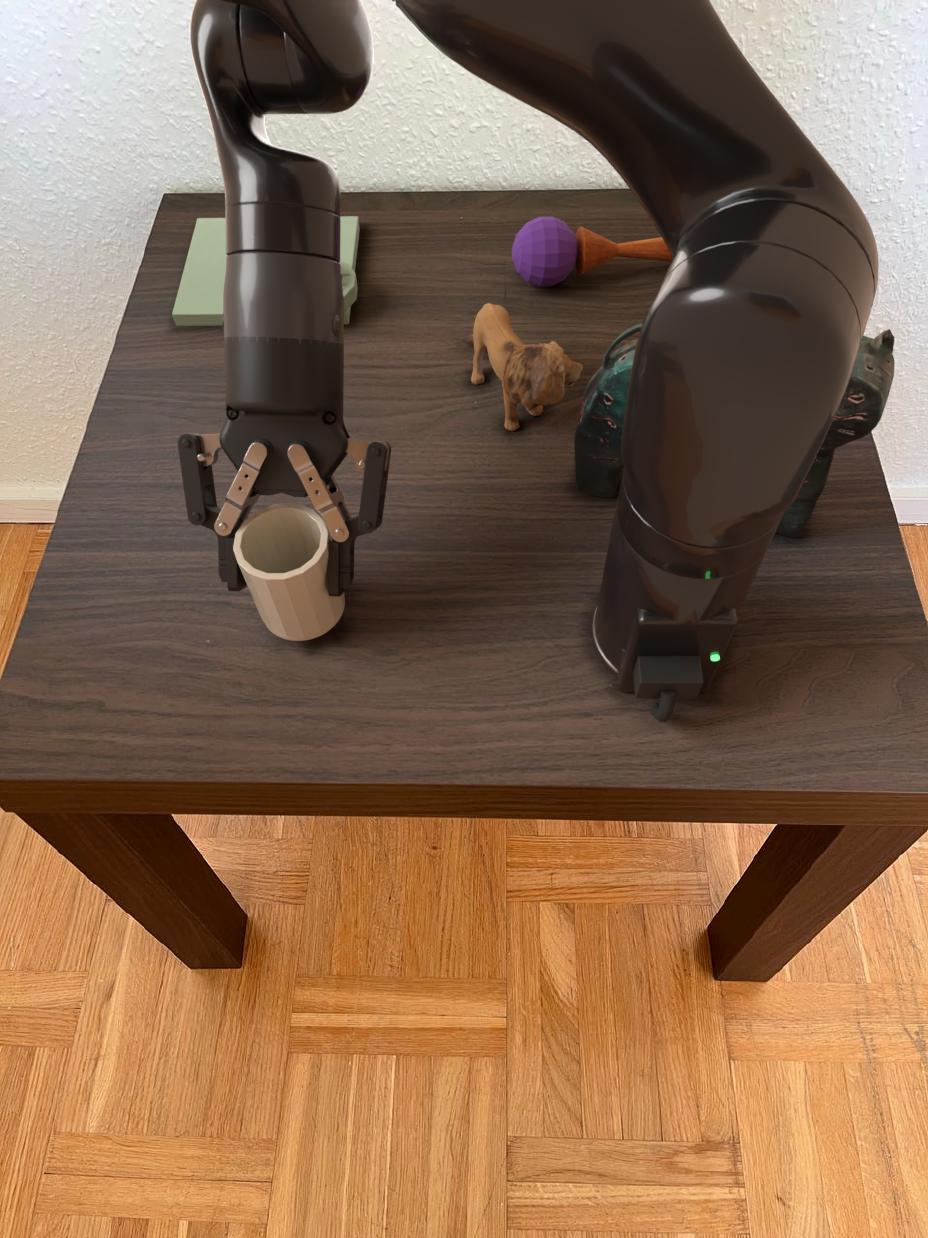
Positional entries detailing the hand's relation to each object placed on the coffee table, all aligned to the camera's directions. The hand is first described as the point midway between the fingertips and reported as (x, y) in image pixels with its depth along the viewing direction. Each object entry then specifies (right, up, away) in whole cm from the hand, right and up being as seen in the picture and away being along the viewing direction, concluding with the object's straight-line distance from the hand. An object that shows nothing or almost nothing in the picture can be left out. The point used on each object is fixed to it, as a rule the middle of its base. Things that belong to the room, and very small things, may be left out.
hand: (286, 590), depth 62 cm
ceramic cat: (+30, +7, +10) cm, 33 cm away
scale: (-6, +31, +25) cm, 41 cm away
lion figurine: (+16, +17, +17) cm, 29 cm away
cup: (0, -1, +5) cm, 5 cm away
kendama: (+27, +31, +25) cm, 48 cm away
